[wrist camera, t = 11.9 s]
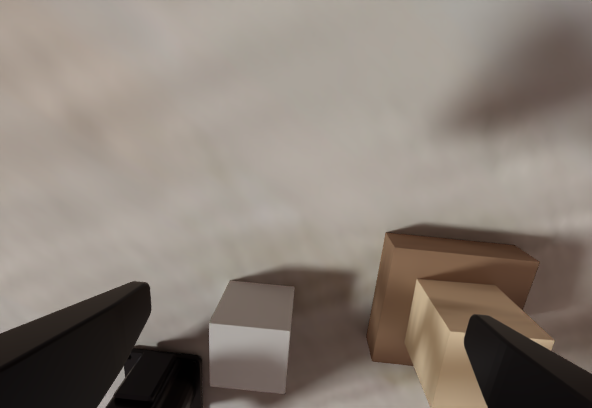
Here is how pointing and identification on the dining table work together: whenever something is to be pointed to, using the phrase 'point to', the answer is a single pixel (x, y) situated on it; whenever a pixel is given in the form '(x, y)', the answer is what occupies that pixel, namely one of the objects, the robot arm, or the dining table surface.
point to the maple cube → (457, 337)
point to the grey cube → (251, 337)
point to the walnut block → (441, 267)
